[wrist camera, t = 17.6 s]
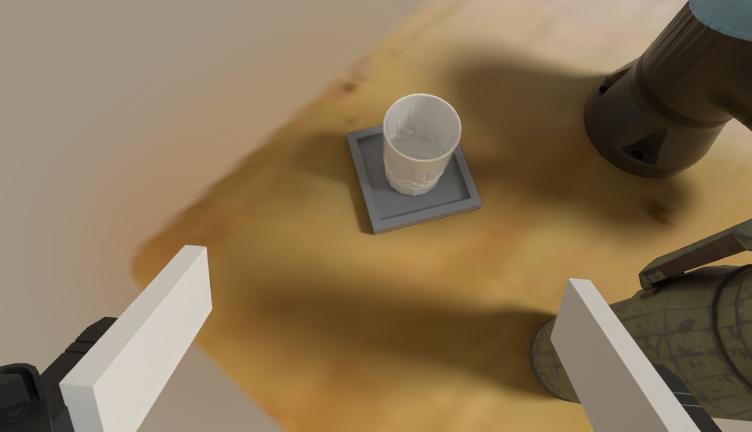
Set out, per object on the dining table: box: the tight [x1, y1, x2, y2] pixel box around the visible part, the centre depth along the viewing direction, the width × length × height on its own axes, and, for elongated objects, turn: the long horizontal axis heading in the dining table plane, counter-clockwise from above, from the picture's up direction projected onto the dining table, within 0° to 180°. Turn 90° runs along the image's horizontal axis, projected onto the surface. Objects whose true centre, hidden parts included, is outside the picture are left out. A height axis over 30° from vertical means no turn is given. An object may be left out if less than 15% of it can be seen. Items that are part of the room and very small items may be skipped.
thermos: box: [529, 219, 752, 421], centre depth 31 cm, size 9×12×35 cm
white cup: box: [383, 94, 462, 196], centre depth 49 cm, size 8×8×10 cm
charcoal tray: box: [346, 125, 482, 235], centre depth 54 cm, size 13×13×2 cm
